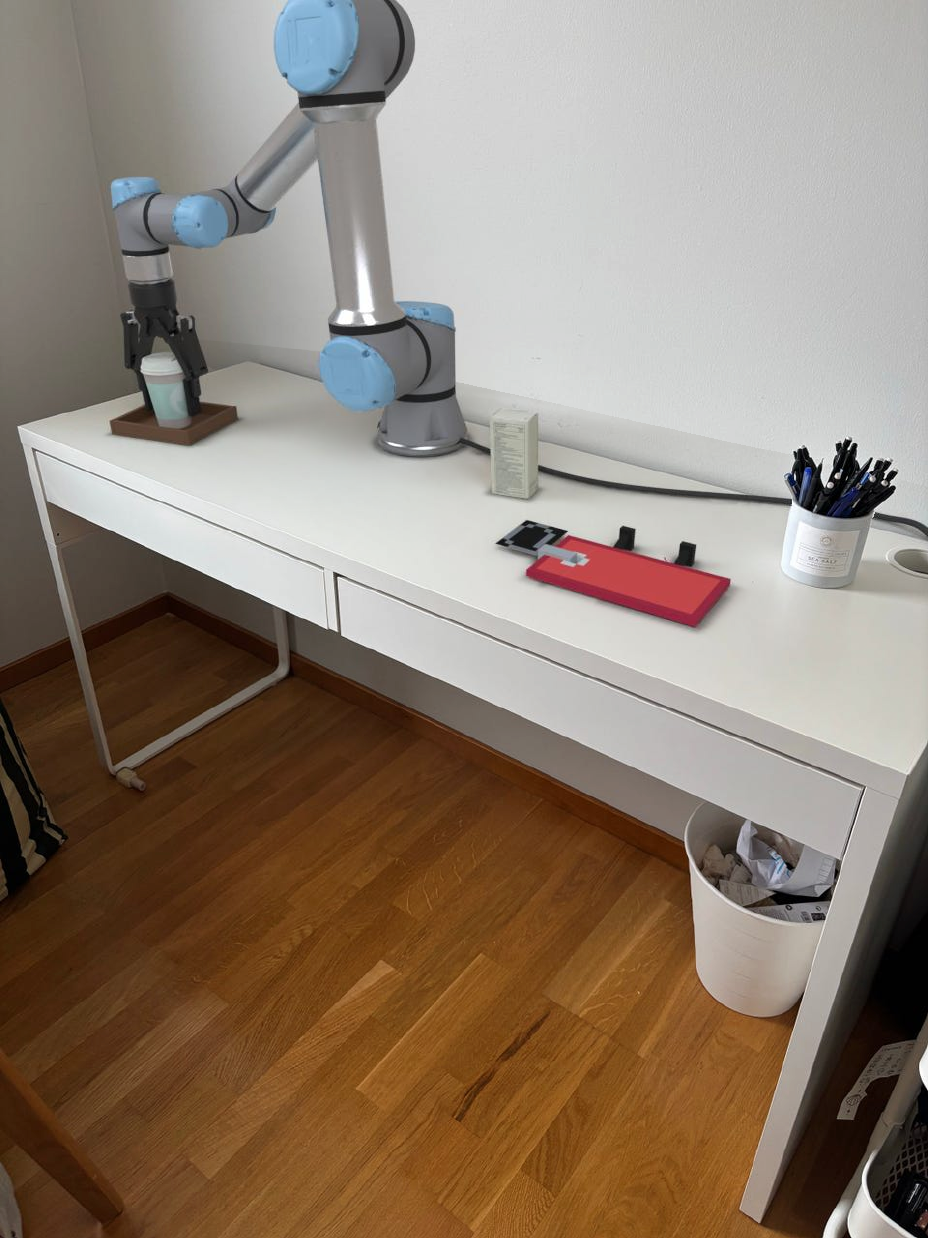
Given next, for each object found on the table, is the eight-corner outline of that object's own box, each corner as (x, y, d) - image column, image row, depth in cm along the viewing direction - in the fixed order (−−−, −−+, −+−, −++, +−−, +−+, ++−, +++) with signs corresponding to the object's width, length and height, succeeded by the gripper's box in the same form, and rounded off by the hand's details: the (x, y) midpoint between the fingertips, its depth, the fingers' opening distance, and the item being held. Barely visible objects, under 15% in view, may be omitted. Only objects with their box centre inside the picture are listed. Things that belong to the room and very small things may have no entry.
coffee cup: (174, 435, 167) (162, 366, 161) (141, 426, 171) (127, 360, 165) (210, 420, 173) (199, 354, 167) (176, 413, 177) (165, 348, 171)
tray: (238, 419, 175) (236, 406, 174) (189, 445, 164) (187, 431, 162) (164, 409, 181) (161, 396, 179) (112, 434, 169) (109, 420, 168)
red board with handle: (533, 520, 135) (475, 564, 124) (533, 502, 133) (475, 545, 123) (739, 576, 121) (694, 630, 110) (742, 556, 119) (697, 609, 109)
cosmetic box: (538, 489, 145) (540, 411, 139) (527, 500, 142) (529, 421, 135) (500, 483, 147) (500, 406, 141) (489, 493, 144) (488, 415, 138)
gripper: (217, 279, 158) (235, 411, 170) (114, 271, 166) (138, 398, 177) (189, 288, 153) (211, 424, 164) (84, 279, 160) (111, 411, 171)
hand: (173, 411), depth 171 cm, fingers closed on coffee cup, 9 cm apart
